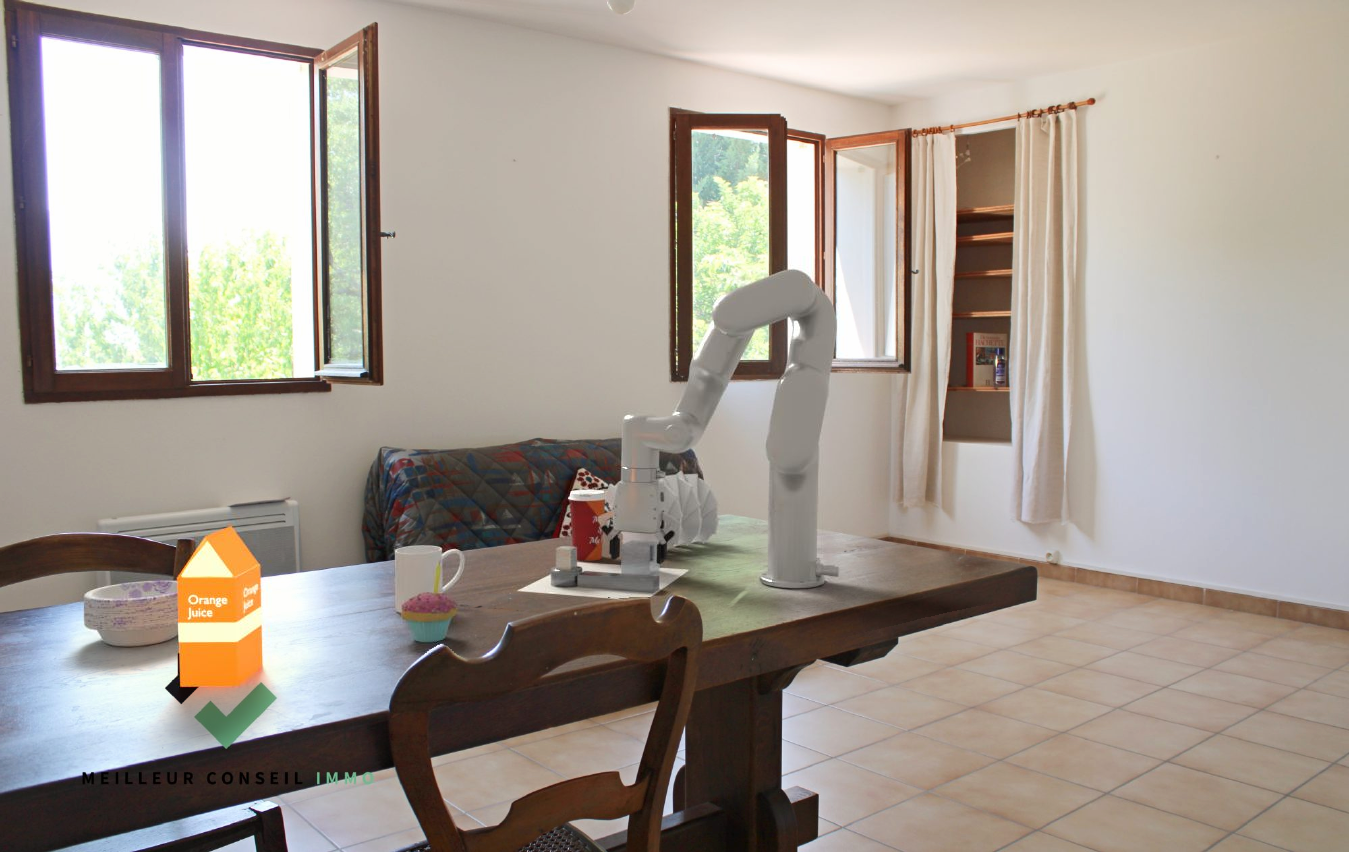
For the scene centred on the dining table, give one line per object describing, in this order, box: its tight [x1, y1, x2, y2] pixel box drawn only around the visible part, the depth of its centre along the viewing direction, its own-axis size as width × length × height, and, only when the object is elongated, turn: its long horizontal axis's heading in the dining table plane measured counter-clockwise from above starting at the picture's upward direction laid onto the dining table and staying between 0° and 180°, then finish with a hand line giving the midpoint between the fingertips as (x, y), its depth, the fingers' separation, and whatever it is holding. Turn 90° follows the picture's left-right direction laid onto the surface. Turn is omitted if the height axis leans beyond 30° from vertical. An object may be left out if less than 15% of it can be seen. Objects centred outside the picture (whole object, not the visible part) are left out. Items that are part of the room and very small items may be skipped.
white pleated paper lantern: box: [605, 470, 720, 552], centre depth 229 cm, size 18×18×25 cm
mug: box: [394, 544, 466, 614], centre depth 174 cm, size 12×8×10 cm, turn 124°
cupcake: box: [400, 560, 458, 643], centre depth 155 cm, size 9×8×12 cm
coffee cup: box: [567, 489, 606, 562], centre depth 216 cm, size 8×8×15 cm
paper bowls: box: [83, 580, 179, 648], centre depth 154 cm, size 15×15×8 cm
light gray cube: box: [620, 540, 660, 576], centre depth 201 cm, size 6×6×6 cm
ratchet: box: [550, 545, 659, 593], centre depth 188 cm, size 21×6×7 cm, turn 73°
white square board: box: [517, 561, 690, 600], centre depth 194 cm, size 25×28×1 cm
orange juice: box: [176, 525, 264, 688], centre depth 136 cm, size 8×9×20 cm
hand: (637, 560), depth 201 cm, fingers open, 9 cm apart
